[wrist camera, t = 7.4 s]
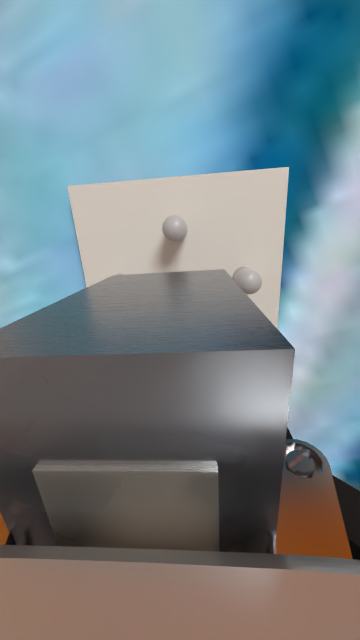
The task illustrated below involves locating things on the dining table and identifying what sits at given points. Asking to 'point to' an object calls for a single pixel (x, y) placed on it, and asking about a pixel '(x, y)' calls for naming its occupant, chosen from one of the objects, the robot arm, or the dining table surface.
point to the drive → (145, 417)
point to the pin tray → (187, 228)
